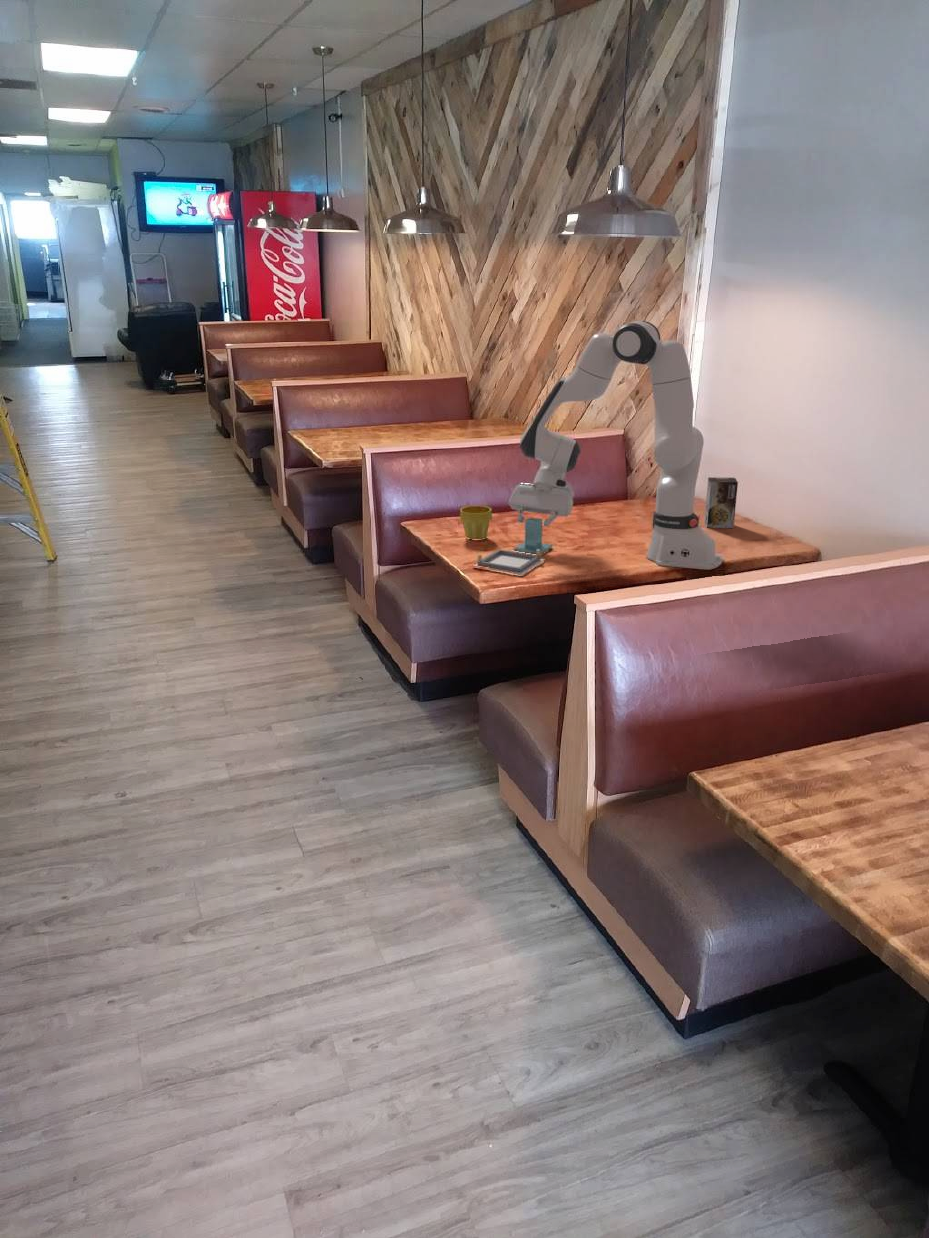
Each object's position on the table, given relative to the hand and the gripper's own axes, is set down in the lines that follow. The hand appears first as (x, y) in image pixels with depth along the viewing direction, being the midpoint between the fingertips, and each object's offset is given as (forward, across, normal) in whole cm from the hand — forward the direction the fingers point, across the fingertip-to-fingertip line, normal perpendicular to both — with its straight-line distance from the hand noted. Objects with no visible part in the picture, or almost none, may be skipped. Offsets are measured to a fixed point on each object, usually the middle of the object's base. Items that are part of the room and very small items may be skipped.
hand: (533, 523), depth 281 cm
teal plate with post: (+6, 0, +7) cm, 9 cm away
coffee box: (-33, +44, +46) cm, 71 cm away
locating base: (+18, 0, -5) cm, 19 cm away
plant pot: (+4, -22, +9) cm, 24 cm away
